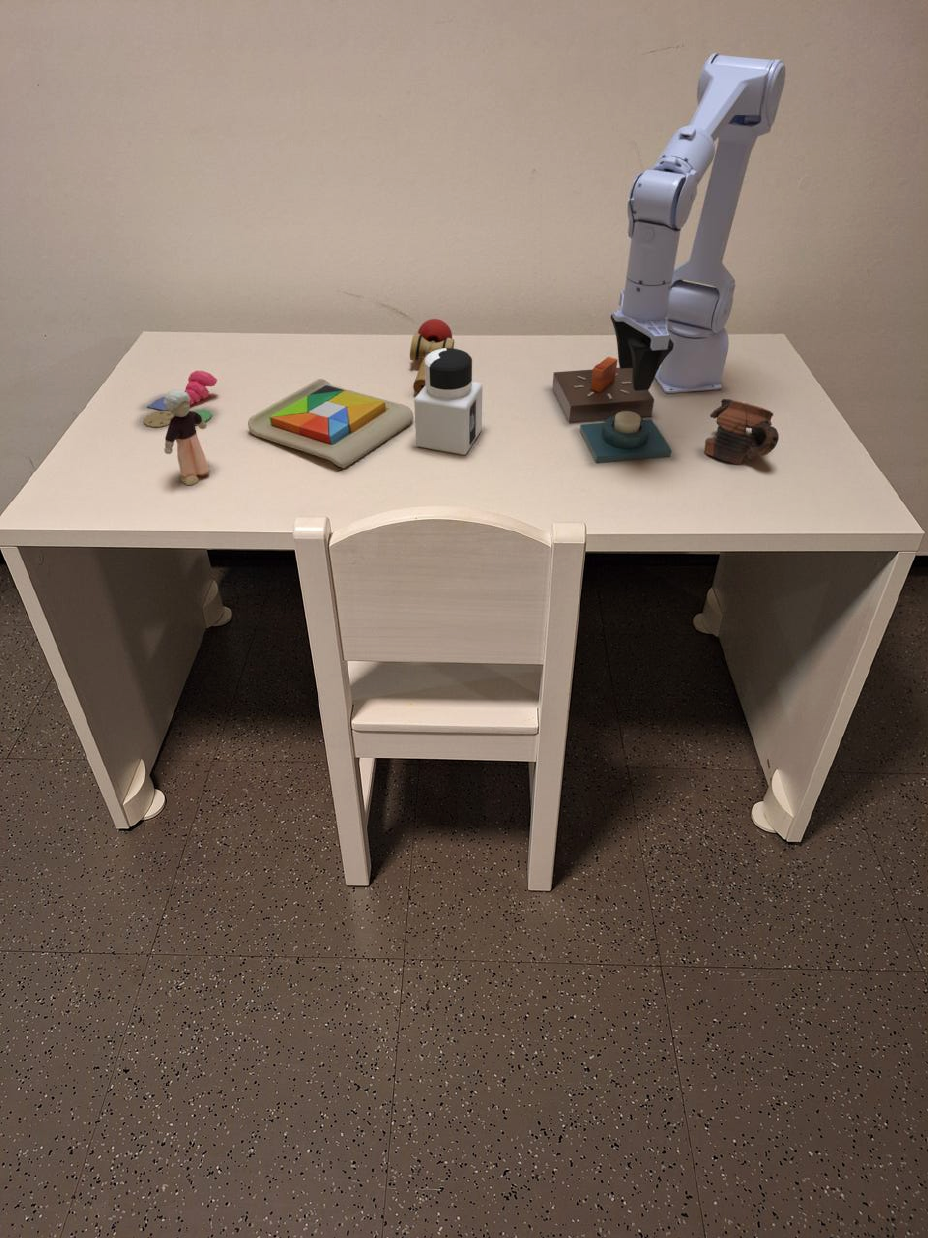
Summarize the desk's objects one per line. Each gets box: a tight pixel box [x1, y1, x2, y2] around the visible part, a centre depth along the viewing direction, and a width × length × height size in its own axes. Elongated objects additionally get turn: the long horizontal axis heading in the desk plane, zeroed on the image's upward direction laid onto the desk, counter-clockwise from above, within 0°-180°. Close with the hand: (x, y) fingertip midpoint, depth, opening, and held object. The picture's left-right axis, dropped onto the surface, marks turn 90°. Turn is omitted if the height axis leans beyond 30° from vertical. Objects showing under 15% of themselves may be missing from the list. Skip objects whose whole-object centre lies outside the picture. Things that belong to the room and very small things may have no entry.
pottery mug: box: [703, 398, 780, 466], centre depth 116 cm, size 12×10×8 cm
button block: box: [579, 415, 672, 464], centre depth 118 cm, size 11×9×3 cm
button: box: [614, 411, 642, 434], centre depth 116 cm, size 4×4×2 cm
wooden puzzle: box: [247, 378, 414, 469], centre depth 121 cm, size 18×19×4 cm
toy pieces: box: [142, 370, 218, 428], centre depth 125 cm, size 12×11×4 cm
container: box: [413, 348, 483, 456], centre depth 116 cm, size 8×8×13 cm
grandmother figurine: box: [163, 389, 211, 486], centre depth 109 cm, size 8×4×13 cm, turn 164°
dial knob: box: [591, 356, 618, 392], centre depth 124 cm, size 5×2×4 cm, turn 144°
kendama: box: [409, 318, 455, 395], centre depth 134 cm, size 8×6×18 cm
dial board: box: [551, 367, 655, 424], centre depth 127 cm, size 13×11×3 cm
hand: (634, 377), depth 112 cm, fingers open, 6 cm apart
